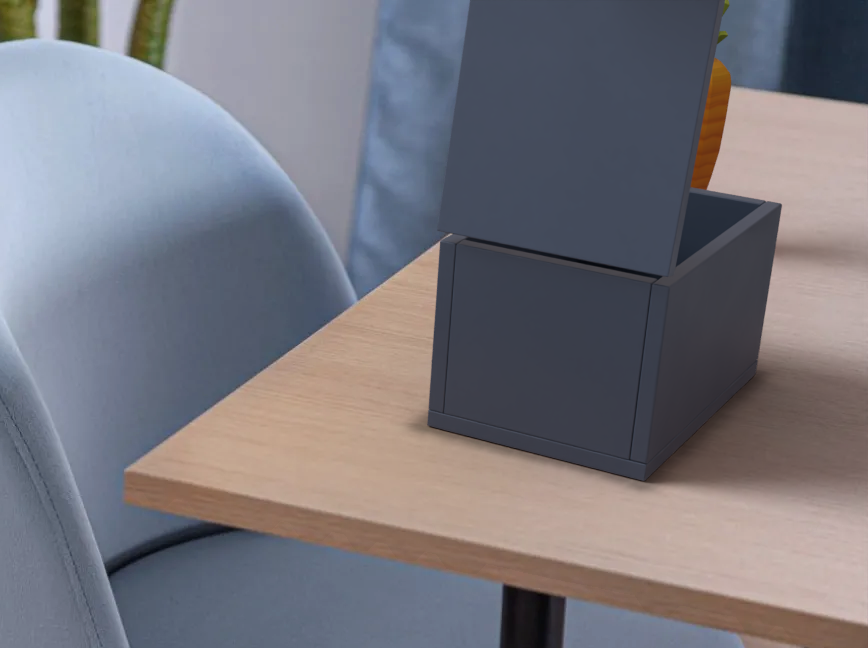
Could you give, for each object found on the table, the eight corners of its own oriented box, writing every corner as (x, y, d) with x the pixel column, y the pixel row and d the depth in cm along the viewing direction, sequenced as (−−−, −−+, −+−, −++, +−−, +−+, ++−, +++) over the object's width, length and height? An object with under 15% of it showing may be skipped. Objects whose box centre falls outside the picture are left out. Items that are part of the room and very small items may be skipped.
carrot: (612, 236, 109) (641, -15, 102) (682, 230, 111) (714, -16, 104) (653, 260, 105) (686, 0, 98) (724, 254, 107) (761, -1, 100)
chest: (561, 331, 93) (578, 166, 89) (756, 374, 89) (782, 203, 85) (426, 425, 81) (439, 240, 77) (644, 481, 76) (669, 287, 72)
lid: (502, -173, 72) (445, -192, 67) (753, -150, 68) (711, -169, 63) (444, 229, 77) (387, 237, 72) (674, 275, 72) (629, 287, 68)
